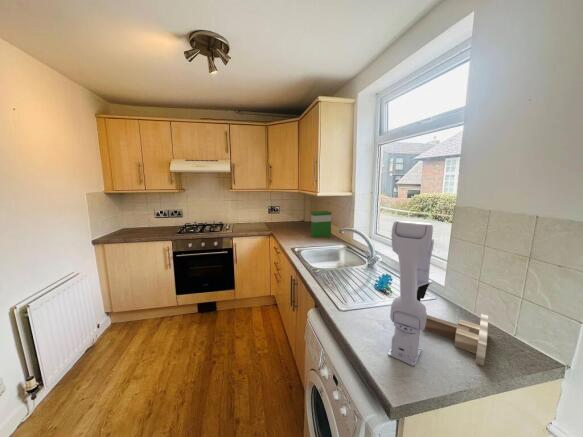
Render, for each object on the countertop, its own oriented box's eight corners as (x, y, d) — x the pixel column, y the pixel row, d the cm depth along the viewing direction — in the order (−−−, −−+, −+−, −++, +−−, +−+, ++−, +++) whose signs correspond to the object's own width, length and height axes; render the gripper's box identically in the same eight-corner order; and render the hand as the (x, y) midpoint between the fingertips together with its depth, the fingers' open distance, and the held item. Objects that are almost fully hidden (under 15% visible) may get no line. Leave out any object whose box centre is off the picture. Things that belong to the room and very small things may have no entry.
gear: (370, 281, 130) (385, 269, 128) (377, 288, 131) (392, 276, 130) (379, 294, 119) (395, 281, 118) (386, 301, 121) (402, 288, 119)
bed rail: (467, 345, 83) (469, 331, 83) (421, 329, 92) (422, 316, 91) (468, 341, 85) (469, 328, 84) (423, 325, 94) (424, 313, 93)
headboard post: (483, 366, 74) (486, 345, 73) (452, 354, 79) (454, 334, 78) (485, 333, 89) (488, 315, 88) (459, 325, 94) (461, 308, 93)
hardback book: (327, 234, 243) (327, 210, 239) (330, 236, 236) (331, 211, 232) (310, 236, 238) (311, 211, 234) (313, 238, 231) (314, 212, 227)
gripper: (428, 276, 84) (424, 313, 86) (437, 264, 95) (433, 297, 97) (406, 271, 88) (403, 306, 91) (417, 260, 99) (414, 292, 101)
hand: (418, 301), depth 94 cm, fingers open, 7 cm apart
